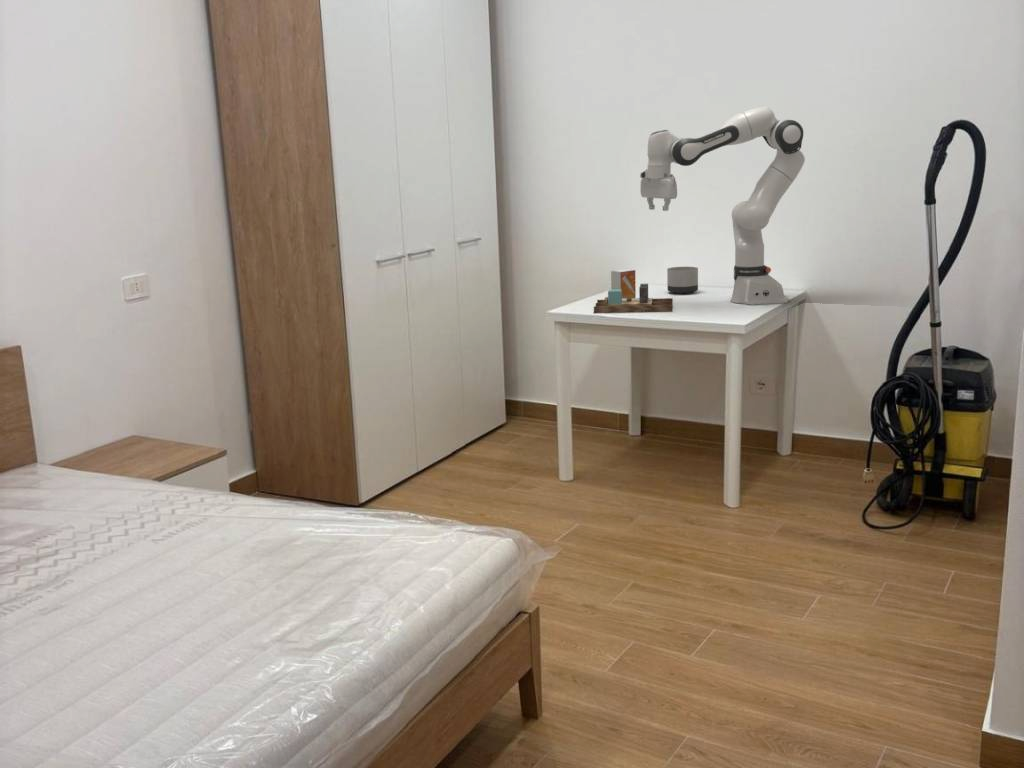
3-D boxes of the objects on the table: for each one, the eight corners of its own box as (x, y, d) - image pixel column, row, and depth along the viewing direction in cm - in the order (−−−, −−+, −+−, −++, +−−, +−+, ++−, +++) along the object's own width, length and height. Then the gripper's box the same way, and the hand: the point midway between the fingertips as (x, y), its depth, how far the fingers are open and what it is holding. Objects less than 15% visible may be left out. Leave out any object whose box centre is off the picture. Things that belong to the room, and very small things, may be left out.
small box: (621, 303, 399) (620, 271, 396) (611, 302, 404) (610, 270, 401) (636, 301, 403) (635, 269, 400) (626, 299, 408) (625, 268, 405)
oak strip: (651, 306, 383) (651, 285, 381) (651, 308, 377) (651, 288, 376) (605, 307, 386) (605, 286, 384) (604, 309, 381) (603, 289, 379)
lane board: (672, 304, 391) (672, 298, 391) (672, 311, 375) (672, 305, 374) (597, 305, 396) (597, 299, 396) (593, 313, 380) (593, 306, 379)
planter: (664, 291, 424) (664, 267, 422) (693, 290, 425) (693, 265, 423) (671, 296, 412) (671, 271, 409) (701, 294, 413) (701, 269, 411)
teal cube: (622, 301, 384) (621, 289, 383) (621, 304, 379) (621, 291, 378) (609, 302, 385) (608, 289, 384) (608, 304, 380) (608, 291, 379)
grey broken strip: (652, 302, 391) (652, 282, 389) (651, 305, 385) (651, 285, 383) (607, 303, 394) (606, 283, 392) (606, 306, 388) (605, 286, 386)
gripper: (681, 173, 370) (681, 210, 373) (651, 173, 388) (650, 208, 391) (667, 174, 368) (667, 211, 371) (637, 173, 385) (637, 209, 389)
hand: (658, 210), depth 381 cm, fingers open, 8 cm apart
